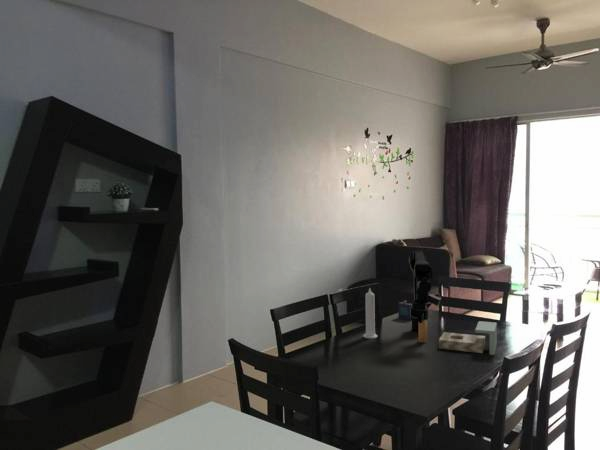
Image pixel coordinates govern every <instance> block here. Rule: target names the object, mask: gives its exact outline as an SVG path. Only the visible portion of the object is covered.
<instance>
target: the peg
mask: <svg viewBox="0 0 600 450" xmlns="http://www.w3.org/2000/svg"><path fill="white" fill-rule="evenodd" d="M418 327H419V332H418V343H421V344H424V343H428V321H427V320H422V323H419V321H418Z"/></svg>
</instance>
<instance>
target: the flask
mask: <svg viewBox="0 0 600 450" xmlns="http://www.w3.org/2000/svg"><path fill="white" fill-rule="evenodd" d="M407 302H408V300H403V301H401V302H398V318H399V319H401V320H408V321H412V320H411V319H410V308H412V307H411V305H412V303H407Z"/></svg>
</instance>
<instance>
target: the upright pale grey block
mask: <svg viewBox="0 0 600 450" xmlns="http://www.w3.org/2000/svg"><path fill="white" fill-rule="evenodd" d="M497 328H498V323H497V322H495V321H494V322H492V321H483V320H481V321H480V320H479V321H478V322H477V325H476V327H475V329H474V332H475V333H480V334H489V355H491V356H495V355H496V350H497V346H498V344H497V343H498V341H497V339H498V335H497V333H498V332H497V331H498V329H497Z"/></svg>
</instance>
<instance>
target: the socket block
mask: <svg viewBox="0 0 600 450" xmlns="http://www.w3.org/2000/svg"><path fill="white" fill-rule="evenodd" d="M485 347H486V335H479V334H467V333H457V332H447V331H445V332H444V331H443V333H442V334H441V335H440V337H439V340H438V349H439V350H440V349H441V350H451V351H460V352H461V351H462V352H470V353H479V354H483V353H484V350H485Z"/></svg>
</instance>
